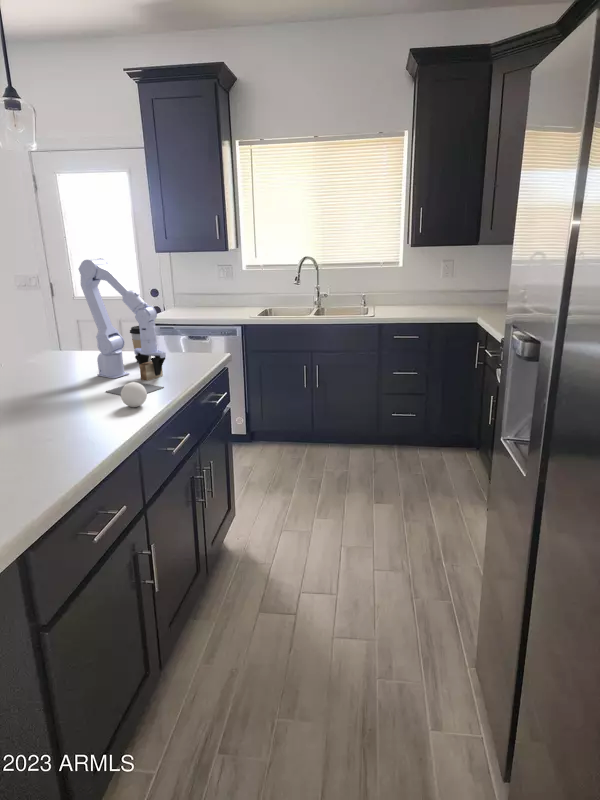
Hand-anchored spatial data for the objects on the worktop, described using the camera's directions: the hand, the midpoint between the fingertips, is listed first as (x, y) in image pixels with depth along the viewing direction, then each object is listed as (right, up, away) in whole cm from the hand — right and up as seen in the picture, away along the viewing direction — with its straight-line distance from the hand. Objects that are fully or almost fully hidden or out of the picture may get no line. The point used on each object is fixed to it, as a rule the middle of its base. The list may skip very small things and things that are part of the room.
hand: (151, 374), depth 201 cm
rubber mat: (-2, -6, -15) cm, 17 cm away
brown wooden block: (0, -1, +1) cm, 2 cm away
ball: (+4, -12, -33) cm, 35 cm away
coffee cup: (-10, +6, +25) cm, 28 cm away
